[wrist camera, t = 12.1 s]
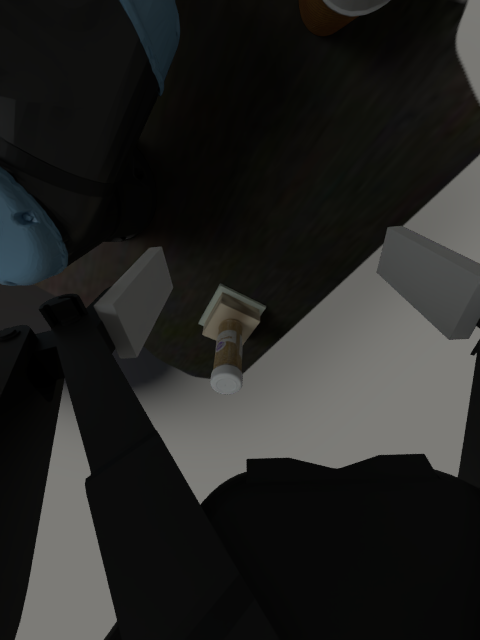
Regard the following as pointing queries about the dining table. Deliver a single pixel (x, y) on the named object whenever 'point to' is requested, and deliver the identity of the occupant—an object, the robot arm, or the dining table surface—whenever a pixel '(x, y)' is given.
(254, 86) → the dining table surface
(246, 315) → the beech block
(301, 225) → the dining table surface
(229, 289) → the plate
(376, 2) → the disposable coffee cup
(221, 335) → the sprinkles bottle
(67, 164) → the robot arm
